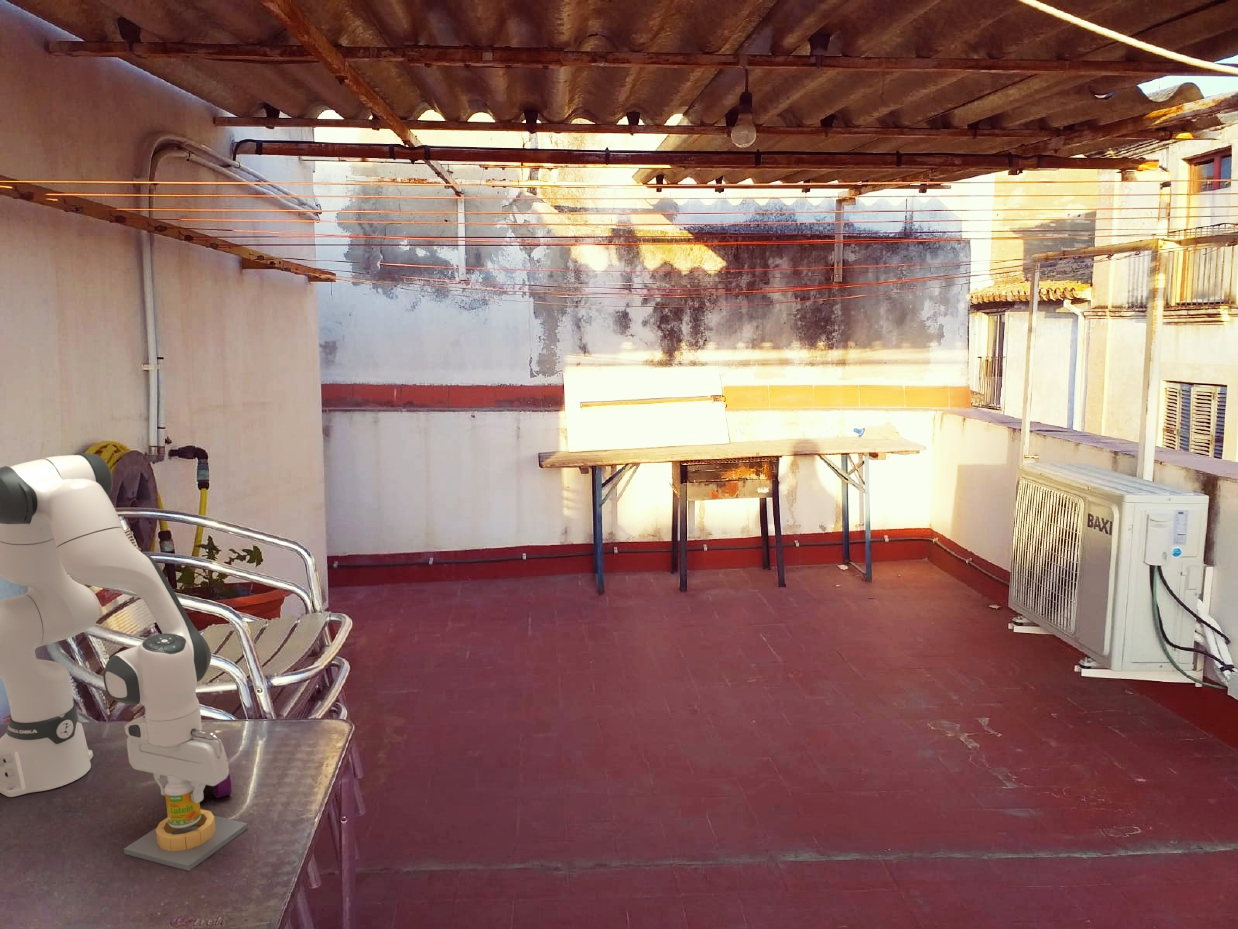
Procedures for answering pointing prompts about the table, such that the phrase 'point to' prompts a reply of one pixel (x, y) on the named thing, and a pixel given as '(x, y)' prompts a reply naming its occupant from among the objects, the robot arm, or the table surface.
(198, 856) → the plate
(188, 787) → the supplement bottle
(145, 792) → the table surface
